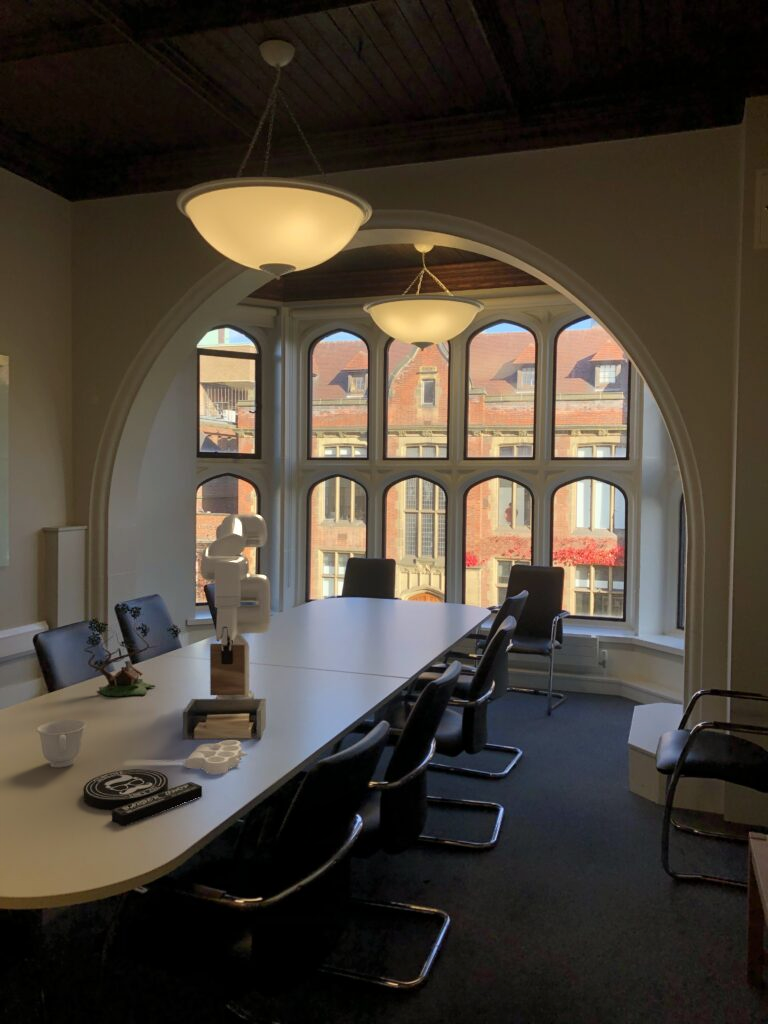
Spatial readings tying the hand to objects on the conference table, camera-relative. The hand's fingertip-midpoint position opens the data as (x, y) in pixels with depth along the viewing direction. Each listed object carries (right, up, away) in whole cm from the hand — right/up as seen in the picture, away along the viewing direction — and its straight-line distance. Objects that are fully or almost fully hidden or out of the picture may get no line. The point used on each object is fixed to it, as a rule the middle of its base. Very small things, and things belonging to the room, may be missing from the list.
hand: (227, 662), depth 240 cm
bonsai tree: (-41, -19, +41) cm, 61 cm away
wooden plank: (0, -10, +1) cm, 10 cm away
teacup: (-38, -22, -28) cm, 52 cm away
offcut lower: (0, -20, -6) cm, 21 cm away
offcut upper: (+1, -17, -6) cm, 18 cm away
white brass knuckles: (+2, -23, -24) cm, 33 cm away
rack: (0, -21, -3) cm, 21 cm away
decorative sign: (-13, -24, -48) cm, 55 cm away
